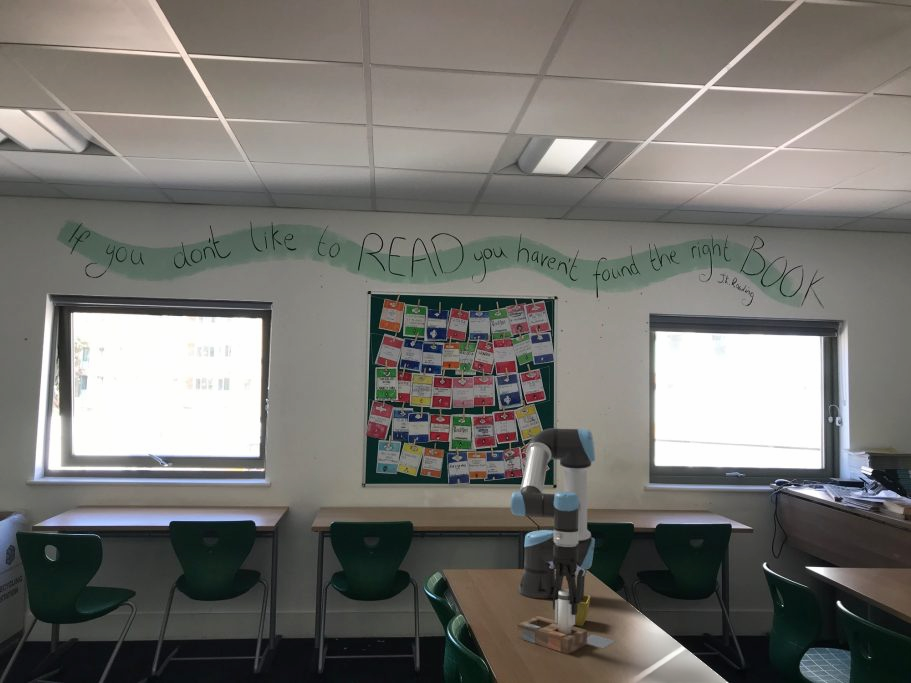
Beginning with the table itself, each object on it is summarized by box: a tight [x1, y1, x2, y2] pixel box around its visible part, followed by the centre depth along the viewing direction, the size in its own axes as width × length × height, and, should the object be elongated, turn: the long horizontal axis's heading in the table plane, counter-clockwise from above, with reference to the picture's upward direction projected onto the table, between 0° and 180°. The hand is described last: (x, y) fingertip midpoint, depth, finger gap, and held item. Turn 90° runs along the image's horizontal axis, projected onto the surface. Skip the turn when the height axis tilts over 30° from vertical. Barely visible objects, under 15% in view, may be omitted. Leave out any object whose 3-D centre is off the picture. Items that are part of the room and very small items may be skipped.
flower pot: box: [574, 594, 591, 627], centre depth 218 cm, size 9×9×9 cm
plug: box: [558, 588, 571, 636], centre depth 197 cm, size 4×4×14 cm
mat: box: [587, 634, 616, 649], centre depth 200 cm, size 8×8×1 cm
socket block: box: [517, 615, 588, 655], centre depth 200 cm, size 11×18×5 cm, turn 48°
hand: (564, 623), depth 197 cm, fingers closed on plug, 4 cm apart
